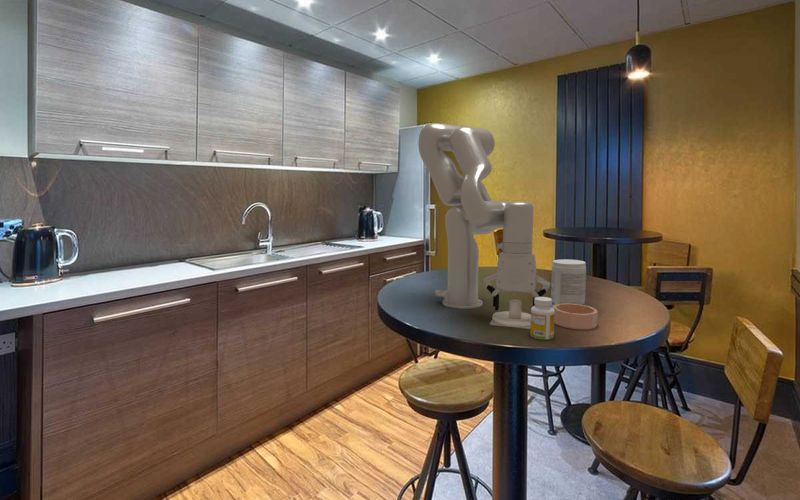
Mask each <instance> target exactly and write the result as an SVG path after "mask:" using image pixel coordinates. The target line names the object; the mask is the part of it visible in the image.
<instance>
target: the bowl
mask: <svg viewBox="0 0 800 500" xmlns="http://www.w3.org/2000/svg"><path fill="white" fill-rule="evenodd" d="M552 308H553V309H554V311H555V317H554V325H557V326H559V327H562V328H567V329H572V330H592V329H595V328H596V327H597V326H598V314H599V312H598V310H597V309H596V308H594V307H592V306H590V305H586V304H585V305H580V304H570V303H566V304H557V305H554V306H553V307H552Z"/></svg>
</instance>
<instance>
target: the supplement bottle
mask: <svg viewBox="0 0 800 500" xmlns="http://www.w3.org/2000/svg"><path fill="white" fill-rule="evenodd" d="M534 304H535V306H533V305H532V307H531V308H530V314H531V325H530V329H529V330H530V332H529V334H530V336H531V337H532V338H535V339H538V340H551V339H553V338H554V336H555V323H554V317H555V311H554V309H553V307H551V305H552V299H551V297H547V296H542V297H536V298H535V299H534Z"/></svg>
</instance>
